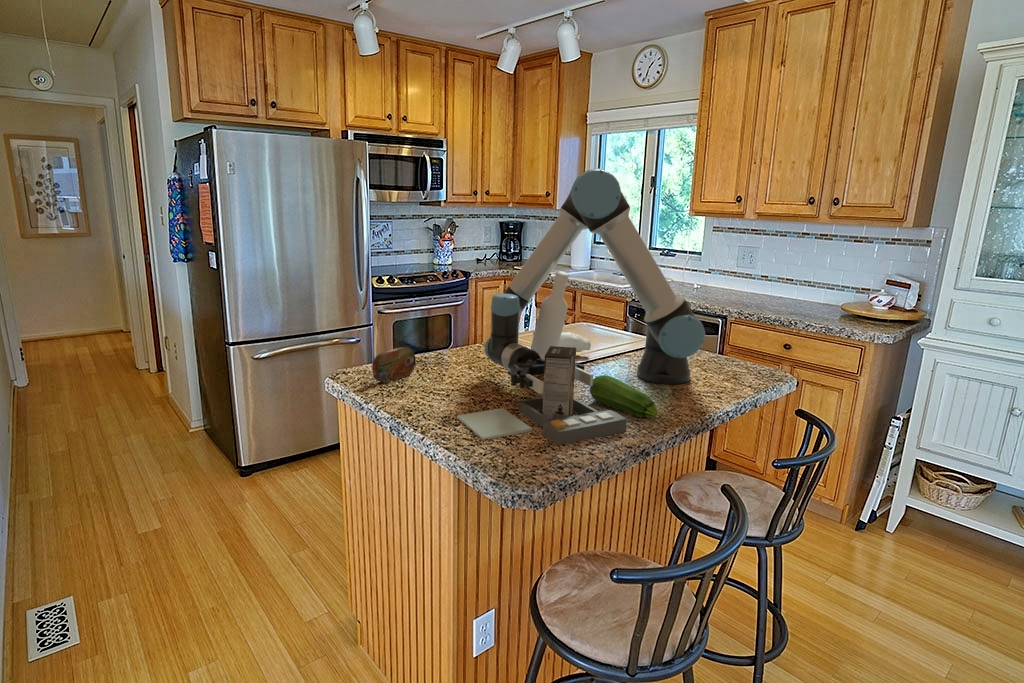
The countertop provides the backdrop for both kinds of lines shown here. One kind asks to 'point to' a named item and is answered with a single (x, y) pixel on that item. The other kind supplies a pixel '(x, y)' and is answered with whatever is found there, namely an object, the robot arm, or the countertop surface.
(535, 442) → the countertop surface
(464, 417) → the sage mat
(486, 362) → the countertop surface
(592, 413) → the frame
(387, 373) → the tin
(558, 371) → the coffee box
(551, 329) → the bottle
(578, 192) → the robot arm
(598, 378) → the vegetable
